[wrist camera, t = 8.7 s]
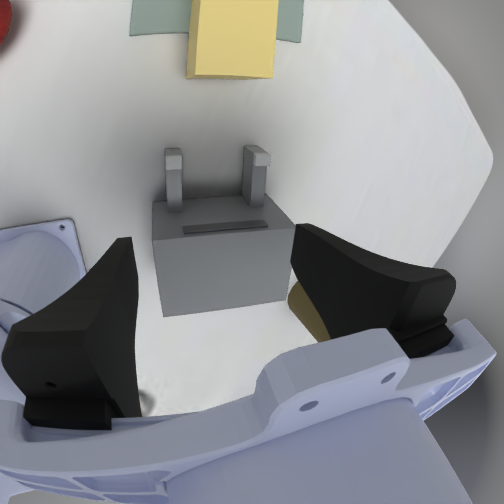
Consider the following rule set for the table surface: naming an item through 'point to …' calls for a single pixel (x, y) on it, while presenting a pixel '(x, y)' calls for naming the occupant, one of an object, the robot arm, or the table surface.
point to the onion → (4, 18)
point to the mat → (179, 11)
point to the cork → (307, 313)
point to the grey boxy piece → (220, 243)
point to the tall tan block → (232, 39)
